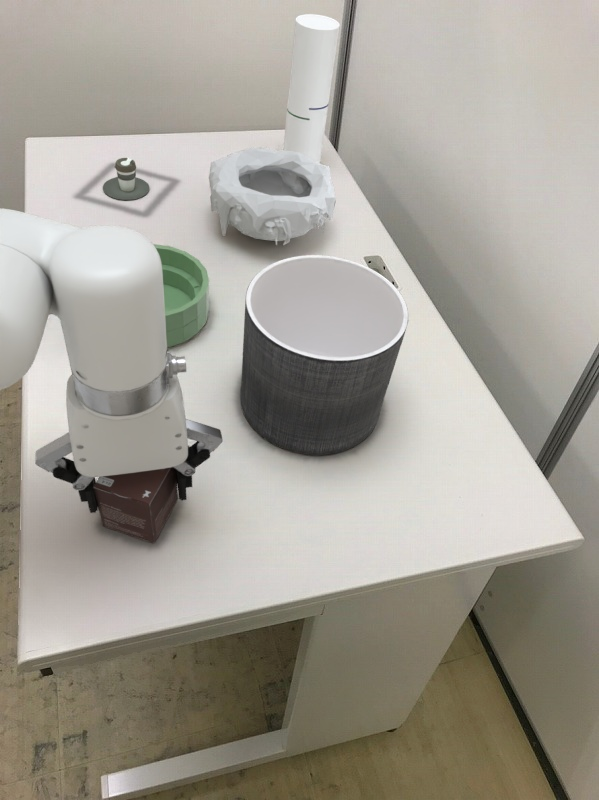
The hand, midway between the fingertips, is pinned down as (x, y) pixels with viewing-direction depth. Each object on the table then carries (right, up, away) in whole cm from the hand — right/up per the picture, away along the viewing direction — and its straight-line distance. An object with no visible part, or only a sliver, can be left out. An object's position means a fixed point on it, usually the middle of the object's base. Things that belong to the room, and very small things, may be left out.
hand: (138, 494), depth 65 cm
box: (0, -2, +3) cm, 4 cm away
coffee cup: (-13, +46, +45) cm, 65 cm away
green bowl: (-4, +22, +24) cm, 32 cm away
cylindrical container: (+17, +53, +56) cm, 79 cm away
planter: (+18, +9, +16) cm, 26 cm away
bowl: (+11, +38, +42) cm, 58 cm away
